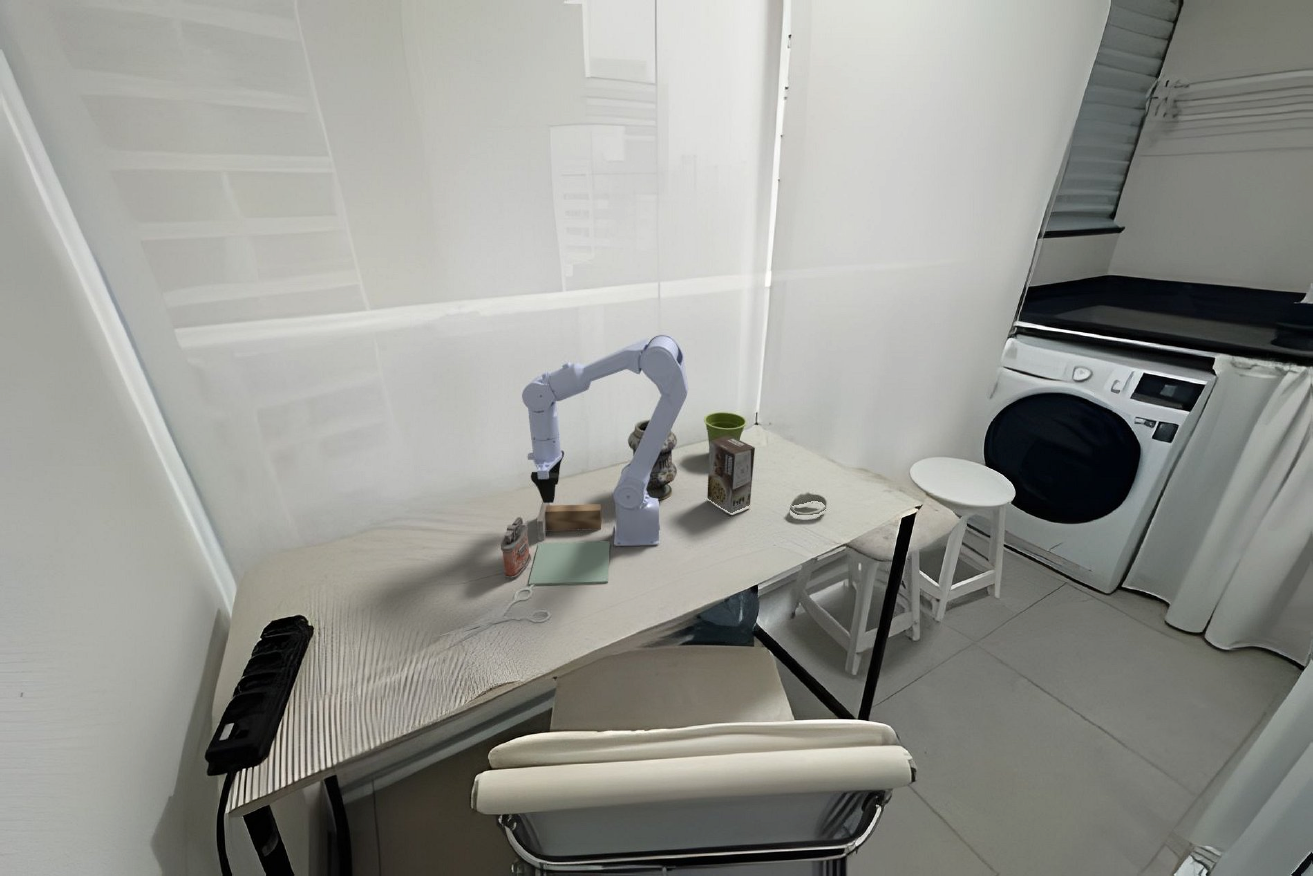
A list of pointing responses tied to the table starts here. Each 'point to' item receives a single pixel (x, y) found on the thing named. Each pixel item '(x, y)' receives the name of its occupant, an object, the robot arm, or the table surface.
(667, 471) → the apothecary jar
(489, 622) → the scissors
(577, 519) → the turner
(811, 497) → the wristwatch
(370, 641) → the table surface
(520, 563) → the lighter
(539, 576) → the tool mat
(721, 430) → the plant pot
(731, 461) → the coffee box
